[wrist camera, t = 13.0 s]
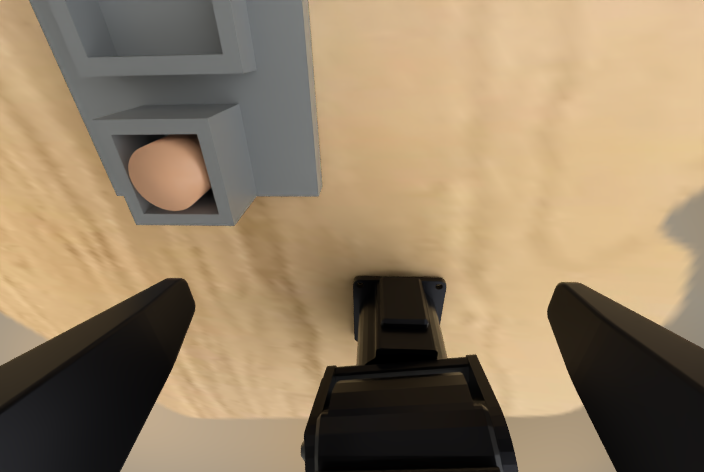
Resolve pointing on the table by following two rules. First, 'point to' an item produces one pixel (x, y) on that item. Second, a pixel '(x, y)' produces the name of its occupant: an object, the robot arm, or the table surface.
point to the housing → (194, 93)
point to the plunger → (170, 172)
